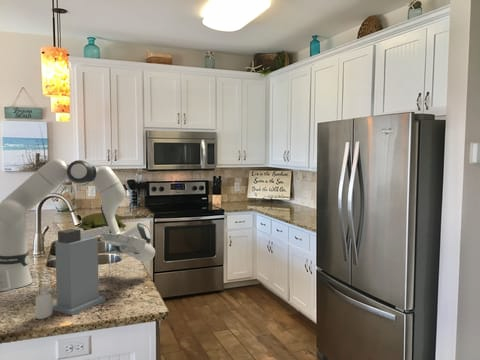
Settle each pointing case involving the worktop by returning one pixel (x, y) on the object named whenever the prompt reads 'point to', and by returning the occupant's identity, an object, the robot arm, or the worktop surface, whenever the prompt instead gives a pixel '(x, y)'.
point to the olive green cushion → (98, 221)
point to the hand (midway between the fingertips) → (109, 234)
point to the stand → (77, 276)
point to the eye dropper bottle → (44, 303)
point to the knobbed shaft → (80, 234)
